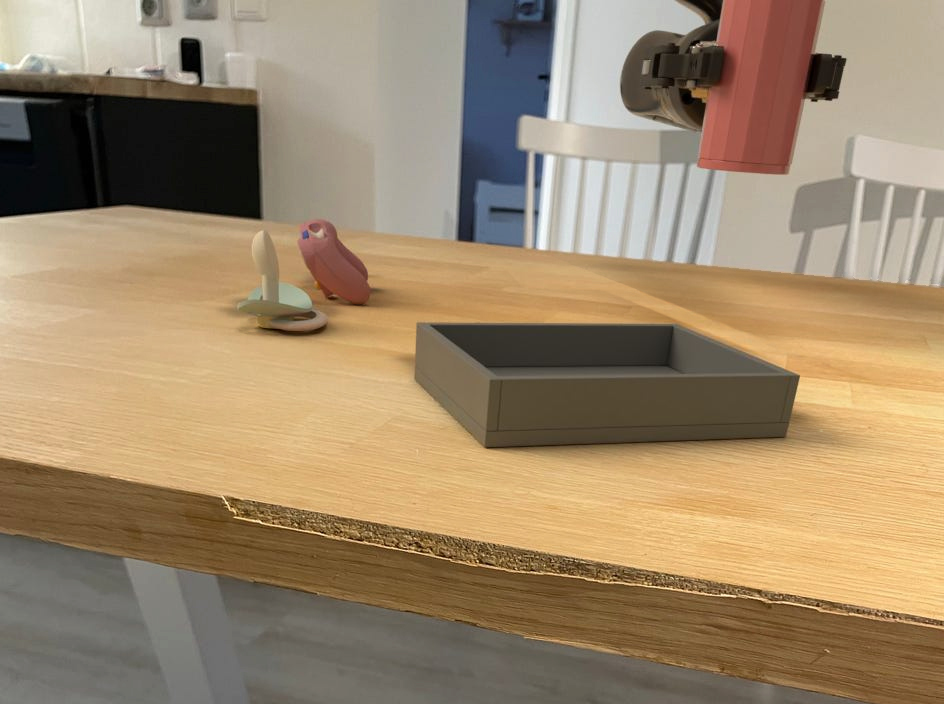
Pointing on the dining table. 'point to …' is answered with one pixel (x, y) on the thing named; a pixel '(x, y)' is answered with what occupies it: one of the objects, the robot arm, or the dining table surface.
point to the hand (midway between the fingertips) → (770, 69)
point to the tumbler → (759, 85)
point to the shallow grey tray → (599, 383)
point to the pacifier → (277, 294)
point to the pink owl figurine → (332, 262)
